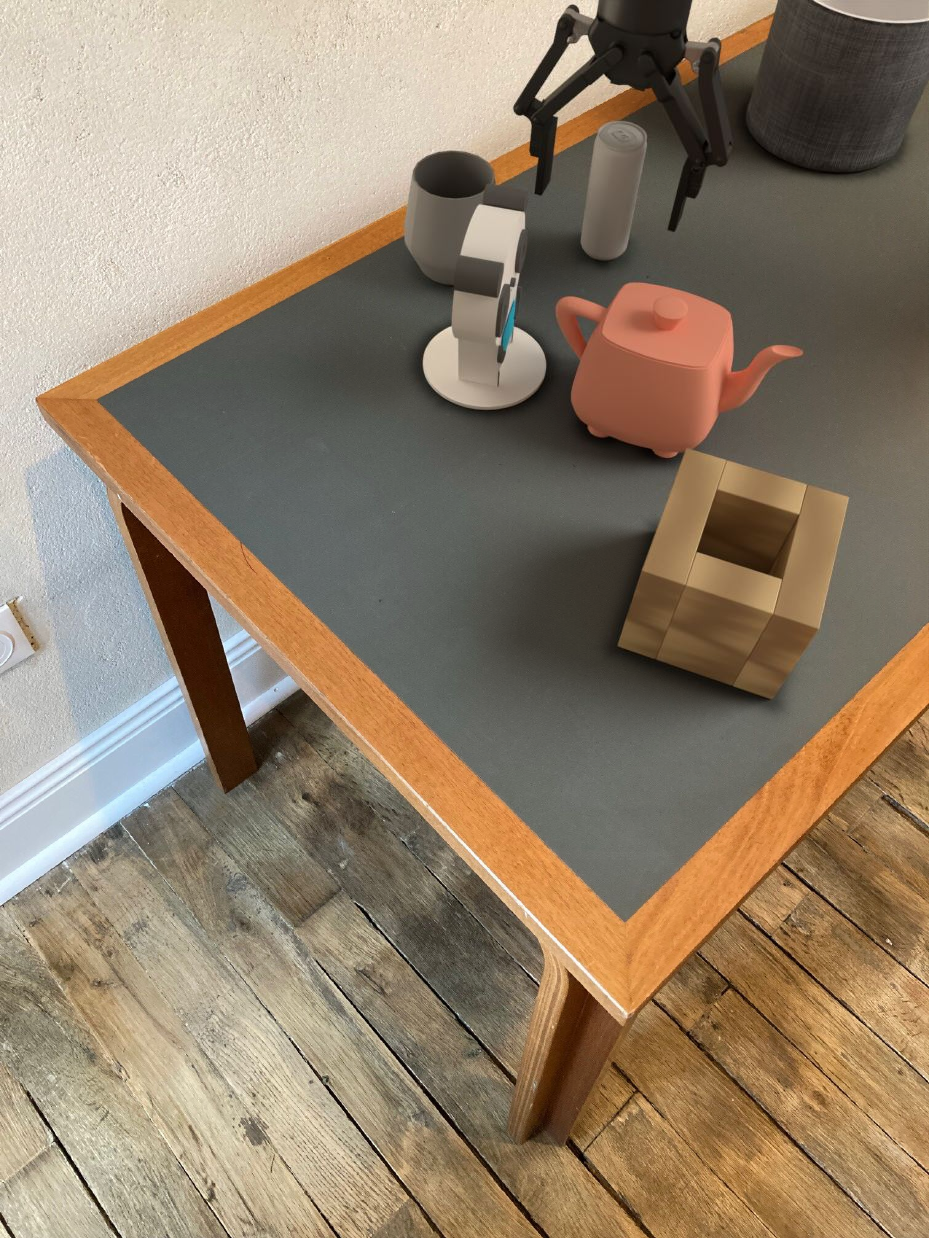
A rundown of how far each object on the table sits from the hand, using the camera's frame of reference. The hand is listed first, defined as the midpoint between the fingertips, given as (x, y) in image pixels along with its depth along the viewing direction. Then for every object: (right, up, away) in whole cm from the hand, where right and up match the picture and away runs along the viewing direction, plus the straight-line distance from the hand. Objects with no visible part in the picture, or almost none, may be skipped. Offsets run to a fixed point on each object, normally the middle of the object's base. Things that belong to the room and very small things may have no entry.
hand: (607, 205), depth 92 cm
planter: (+27, +16, +17) cm, 36 cm away
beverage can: (0, -3, +4) cm, 5 cm away
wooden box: (+5, -40, -19) cm, 45 cm away
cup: (-15, -5, +2) cm, 16 cm away
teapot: (+3, -23, -8) cm, 24 cm away
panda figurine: (-12, -17, -6) cm, 22 cm away
